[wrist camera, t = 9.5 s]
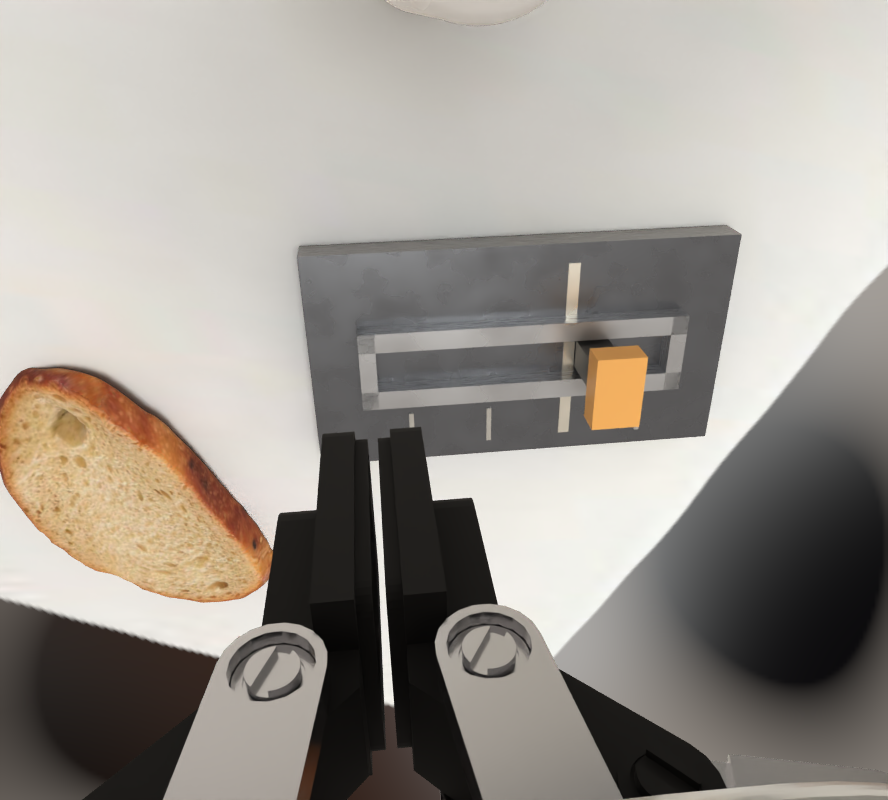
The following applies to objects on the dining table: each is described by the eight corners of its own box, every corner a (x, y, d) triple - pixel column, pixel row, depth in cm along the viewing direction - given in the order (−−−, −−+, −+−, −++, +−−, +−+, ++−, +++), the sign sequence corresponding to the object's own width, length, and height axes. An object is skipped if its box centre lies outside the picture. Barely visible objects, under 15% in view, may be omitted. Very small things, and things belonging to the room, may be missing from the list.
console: (726, 225, 45) (751, 240, 42) (693, 421, 52) (712, 445, 49) (299, 246, 43) (295, 263, 40) (323, 448, 49) (321, 475, 47)
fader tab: (616, 318, 45) (648, 357, 40) (609, 381, 47) (639, 426, 42) (571, 320, 44) (598, 360, 39) (566, 384, 46) (591, 430, 42)
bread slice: (275, 592, 56) (270, 629, 52) (19, 578, 52) (-3, 616, 49) (294, 385, 47) (289, 413, 44) (-8, 353, 44) (-36, 381, 41)
